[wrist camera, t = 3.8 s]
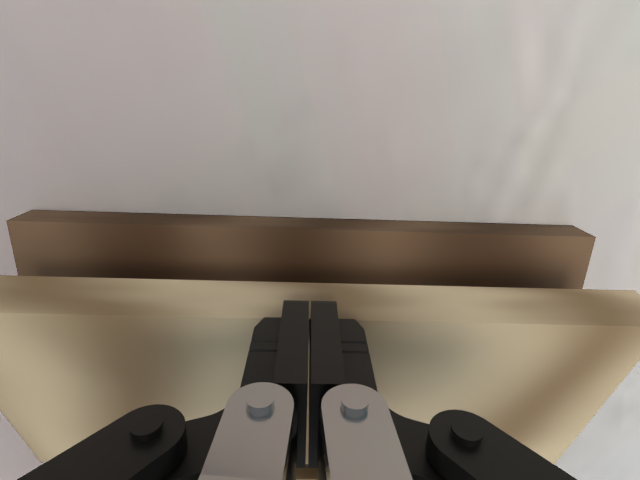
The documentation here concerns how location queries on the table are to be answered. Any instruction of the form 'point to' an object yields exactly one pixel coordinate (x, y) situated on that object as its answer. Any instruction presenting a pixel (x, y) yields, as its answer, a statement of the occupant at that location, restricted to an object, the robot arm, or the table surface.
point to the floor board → (298, 251)
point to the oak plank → (352, 303)
